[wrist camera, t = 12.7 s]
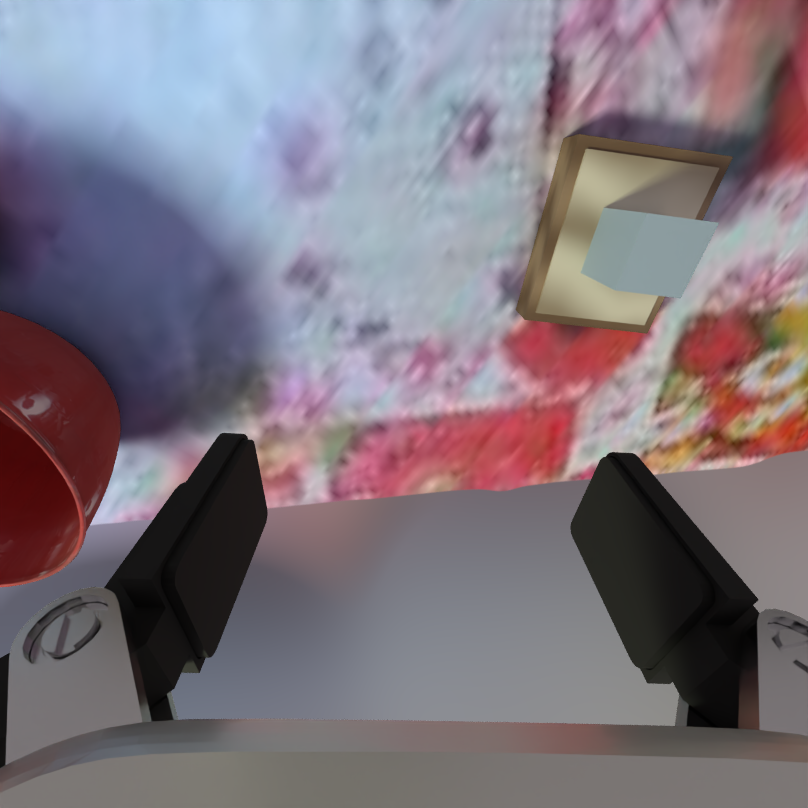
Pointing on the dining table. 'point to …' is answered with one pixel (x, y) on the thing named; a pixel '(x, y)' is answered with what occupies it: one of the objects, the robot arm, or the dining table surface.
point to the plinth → (579, 215)
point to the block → (646, 251)
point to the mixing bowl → (49, 449)
